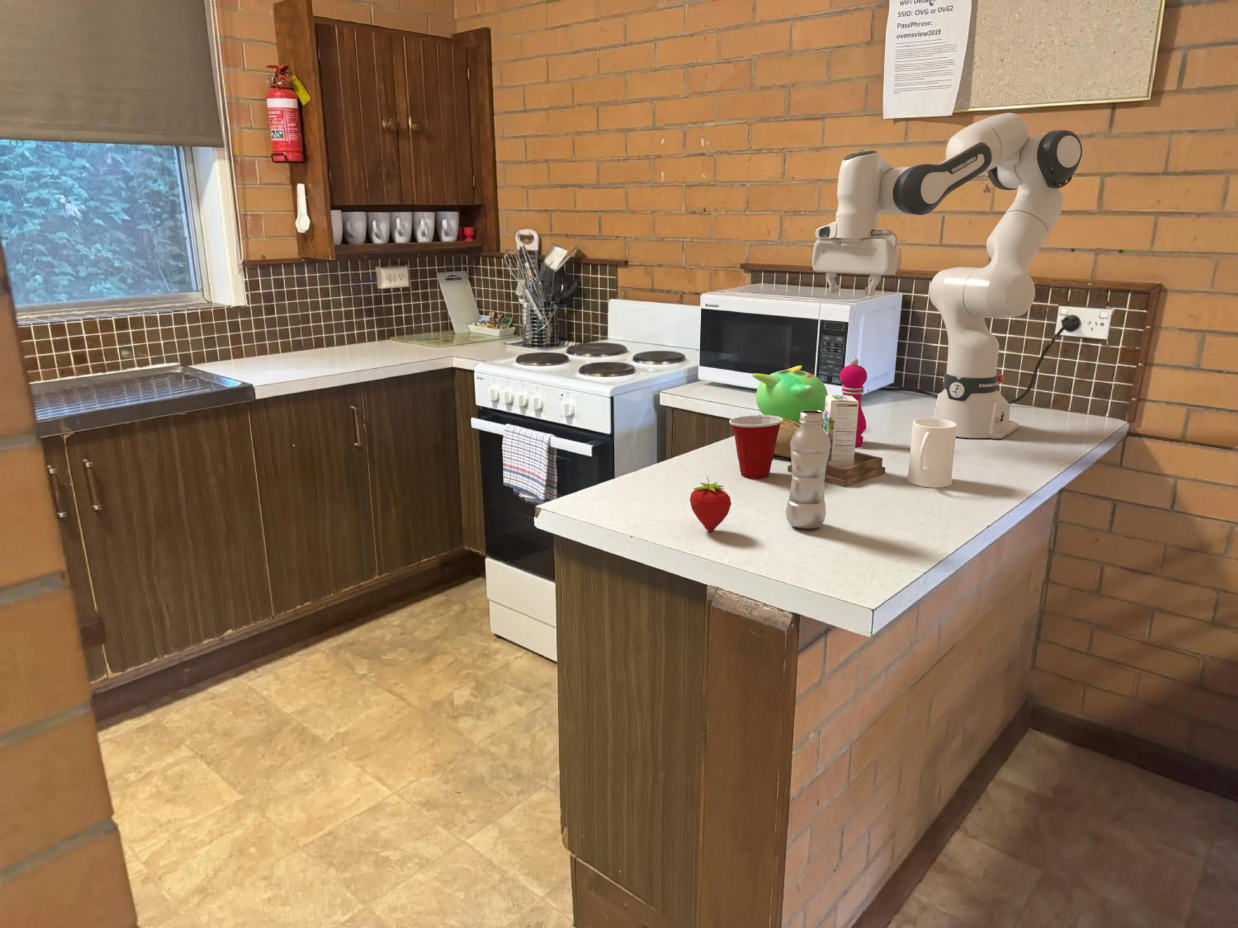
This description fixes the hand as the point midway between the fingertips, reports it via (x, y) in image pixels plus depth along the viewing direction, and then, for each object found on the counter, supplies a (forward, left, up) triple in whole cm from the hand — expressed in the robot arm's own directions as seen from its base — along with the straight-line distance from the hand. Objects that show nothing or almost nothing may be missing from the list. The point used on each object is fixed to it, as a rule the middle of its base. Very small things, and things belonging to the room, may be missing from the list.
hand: (851, 294), depth 186 cm
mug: (+14, +30, -34) cm, 48 cm away
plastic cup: (+35, +4, -34) cm, 49 cm away
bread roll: (+19, -3, -34) cm, 40 cm away
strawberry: (+65, +21, -34) cm, 76 cm away
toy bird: (-5, -19, -34) cm, 40 cm away
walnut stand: (+21, +14, -34) cm, 42 cm away
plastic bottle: (+51, +30, -34) cm, 68 cm away
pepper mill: (0, +2, -34) cm, 34 cm away
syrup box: (+21, +14, -33) cm, 41 cm away
